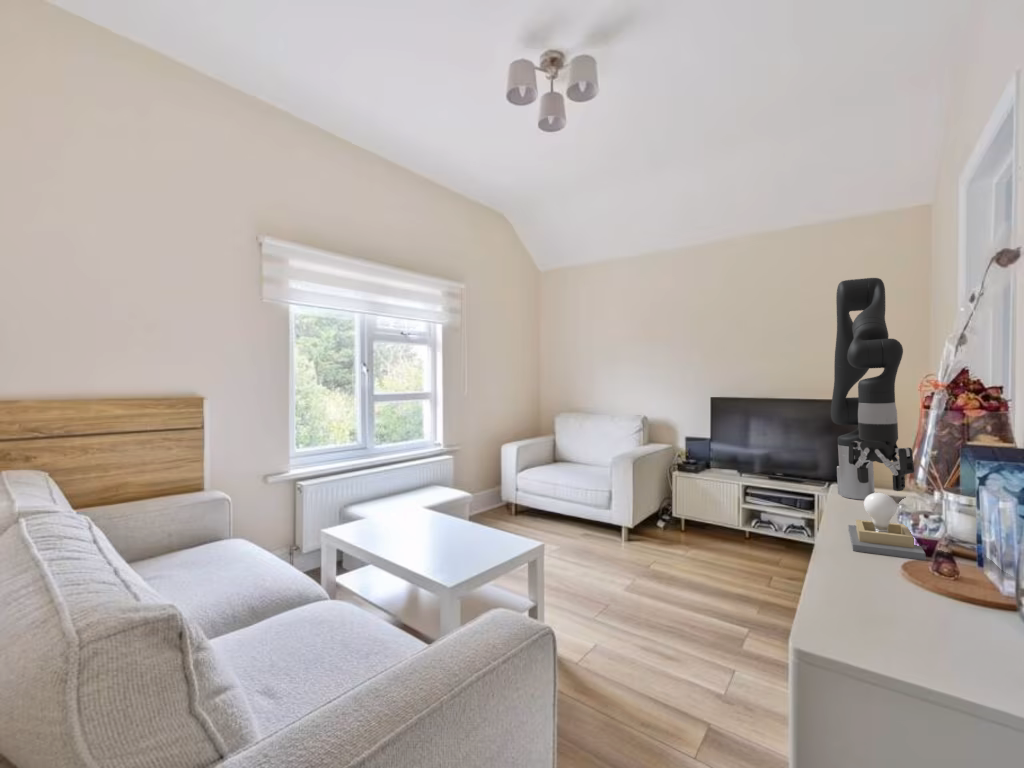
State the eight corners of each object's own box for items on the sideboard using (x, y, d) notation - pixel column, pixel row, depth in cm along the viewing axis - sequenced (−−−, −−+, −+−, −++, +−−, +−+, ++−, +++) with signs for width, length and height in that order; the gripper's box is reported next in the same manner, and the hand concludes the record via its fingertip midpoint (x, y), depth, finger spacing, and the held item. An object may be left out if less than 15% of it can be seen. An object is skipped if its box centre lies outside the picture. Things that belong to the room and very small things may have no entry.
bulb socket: (848, 530, 122) (847, 515, 122) (912, 537, 115) (911, 521, 115) (853, 550, 108) (852, 534, 108) (925, 560, 101) (924, 542, 101)
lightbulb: (872, 541, 110) (869, 496, 110) (860, 532, 116) (858, 489, 116) (904, 542, 108) (901, 496, 108) (890, 533, 114) (888, 489, 114)
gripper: (921, 422, 105) (924, 491, 105) (862, 417, 119) (865, 478, 119) (894, 424, 103) (897, 495, 104) (838, 419, 117) (841, 481, 118)
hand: (880, 486), depth 111 cm, fingers open, 8 cm apart
